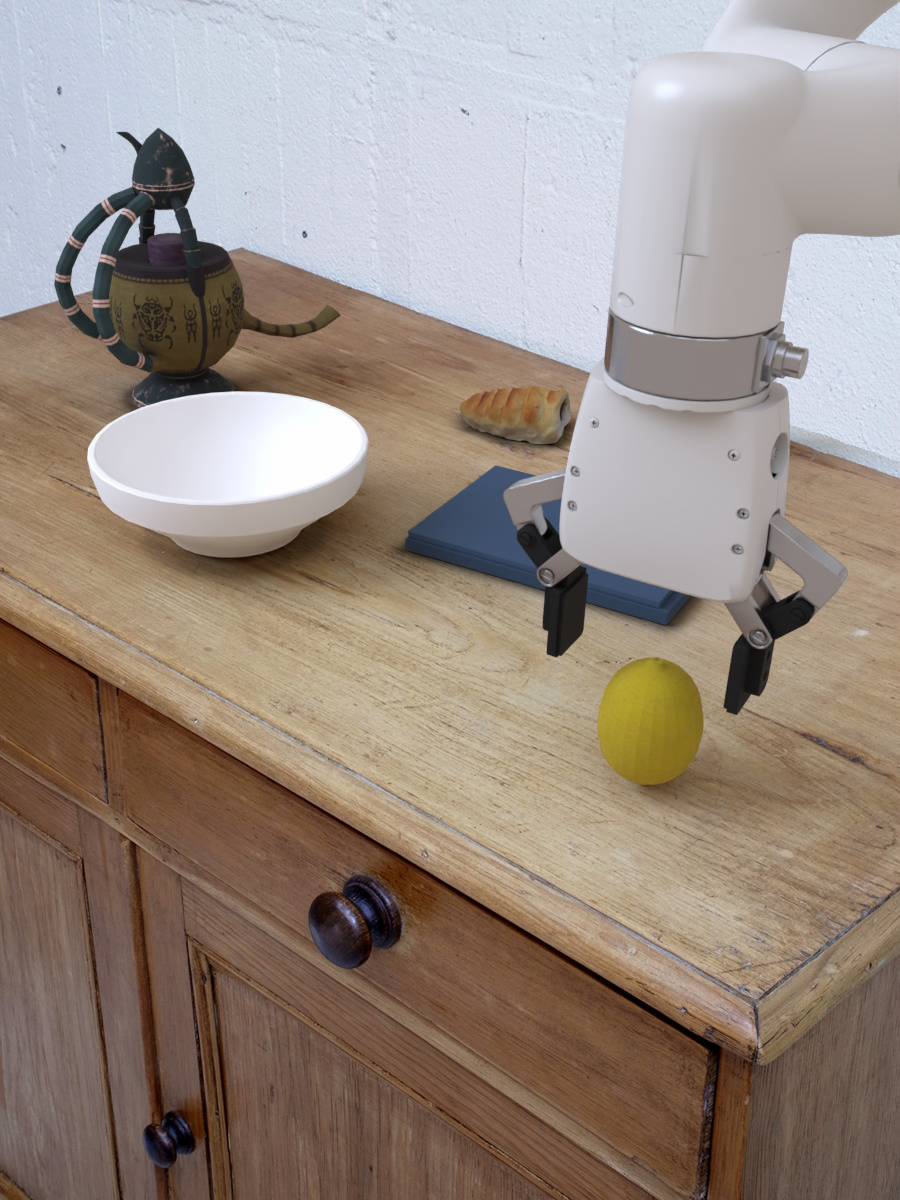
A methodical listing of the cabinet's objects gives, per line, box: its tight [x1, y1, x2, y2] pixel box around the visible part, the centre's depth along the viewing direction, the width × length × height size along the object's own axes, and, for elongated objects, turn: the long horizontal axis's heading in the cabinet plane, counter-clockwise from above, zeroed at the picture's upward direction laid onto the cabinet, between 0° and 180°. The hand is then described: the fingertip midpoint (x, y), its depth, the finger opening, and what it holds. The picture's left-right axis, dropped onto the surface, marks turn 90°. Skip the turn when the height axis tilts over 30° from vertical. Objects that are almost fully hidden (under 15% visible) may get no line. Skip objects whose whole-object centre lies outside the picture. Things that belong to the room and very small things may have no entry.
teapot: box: [53, 127, 341, 408], centre depth 115 cm, size 12×25×23 cm, turn 124°
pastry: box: [459, 384, 573, 445], centre depth 113 cm, size 9×7×4 cm
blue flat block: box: [405, 465, 692, 626], centre depth 95 cm, size 20×14×2 cm
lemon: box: [596, 656, 704, 786], centre depth 69 cm, size 6×6×8 cm
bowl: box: [86, 390, 370, 558], centre depth 94 cm, size 20×20×7 cm
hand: (649, 671), depth 67 cm, fingers open, 9 cm apart
